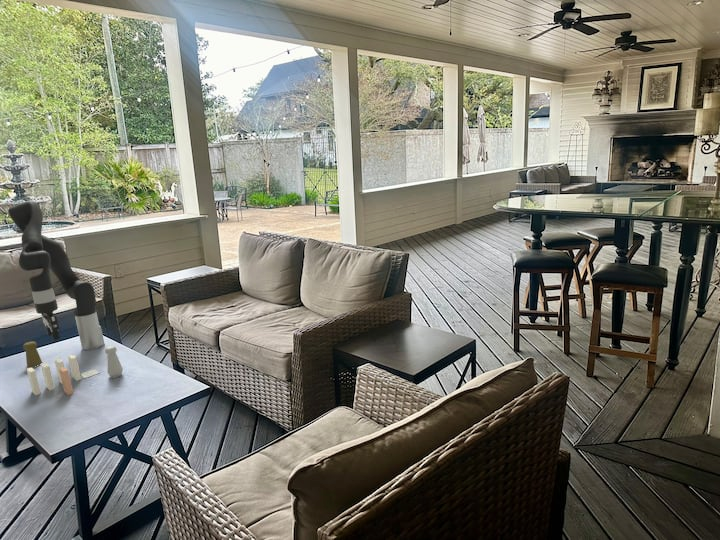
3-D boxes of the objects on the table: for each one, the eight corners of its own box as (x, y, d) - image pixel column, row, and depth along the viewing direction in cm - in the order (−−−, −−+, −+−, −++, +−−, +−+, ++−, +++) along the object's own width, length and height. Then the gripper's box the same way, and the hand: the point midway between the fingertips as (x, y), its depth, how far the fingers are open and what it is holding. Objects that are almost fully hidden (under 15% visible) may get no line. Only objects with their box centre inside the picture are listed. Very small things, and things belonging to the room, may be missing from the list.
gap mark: (94, 369, 216) (94, 369, 216) (99, 373, 212) (99, 372, 212) (79, 374, 212) (79, 374, 212) (84, 378, 208) (84, 378, 208)
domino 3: (64, 380, 208) (59, 358, 205) (68, 383, 204) (63, 361, 202) (59, 382, 206) (54, 360, 204) (63, 385, 203) (58, 363, 201)
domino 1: (37, 389, 201) (31, 367, 198) (40, 393, 197) (35, 370, 195) (32, 391, 200) (26, 368, 197) (35, 395, 196) (29, 372, 194)
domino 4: (69, 389, 199) (63, 366, 197) (73, 393, 196) (67, 369, 193) (64, 391, 198) (58, 368, 196) (68, 394, 195) (62, 371, 192)
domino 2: (51, 385, 204) (45, 362, 202) (54, 388, 201) (49, 365, 198) (46, 386, 203) (40, 364, 201) (49, 390, 200) (44, 367, 197)
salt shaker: (126, 372, 211) (120, 344, 208) (118, 378, 206) (112, 349, 202) (113, 372, 212) (107, 344, 209) (105, 379, 206) (99, 350, 203)
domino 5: (77, 376, 211) (72, 354, 209) (81, 379, 208) (76, 357, 205) (72, 377, 210) (67, 355, 207) (76, 380, 207) (71, 358, 204)
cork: (28, 364, 228) (22, 341, 225) (43, 360, 230) (37, 338, 227) (25, 369, 222) (20, 346, 219) (41, 365, 225) (35, 343, 222)
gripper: (60, 300, 198) (69, 338, 203) (50, 294, 208) (59, 330, 213) (38, 305, 193) (48, 344, 198) (30, 299, 203) (39, 336, 208)
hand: (54, 337), depth 205 cm, fingers open, 8 cm apart
